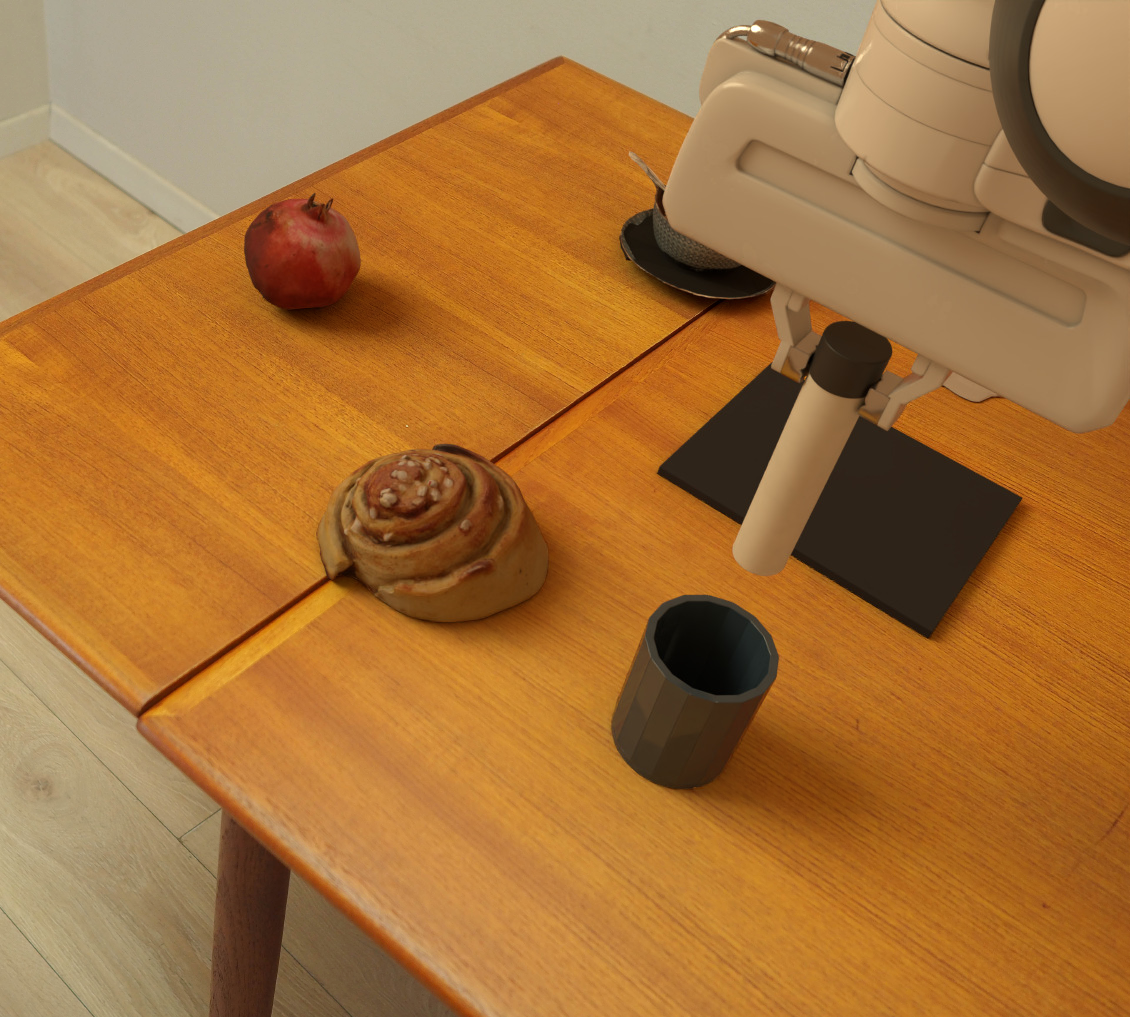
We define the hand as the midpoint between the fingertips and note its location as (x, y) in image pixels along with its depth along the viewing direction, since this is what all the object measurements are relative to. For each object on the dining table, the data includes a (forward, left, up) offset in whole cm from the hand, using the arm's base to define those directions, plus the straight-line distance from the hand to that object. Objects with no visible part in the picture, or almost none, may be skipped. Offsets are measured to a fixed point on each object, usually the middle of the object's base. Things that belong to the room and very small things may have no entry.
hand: (834, 394), depth 52 cm
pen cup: (0, +1, -27) cm, 27 cm away
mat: (+2, -27, -27) cm, 38 cm away
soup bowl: (+26, -45, -27) cm, 58 cm away
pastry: (+20, 0, -27) cm, 33 cm away
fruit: (+46, -14, -27) cm, 55 cm away
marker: (0, 0, -11) cm, 11 cm away
